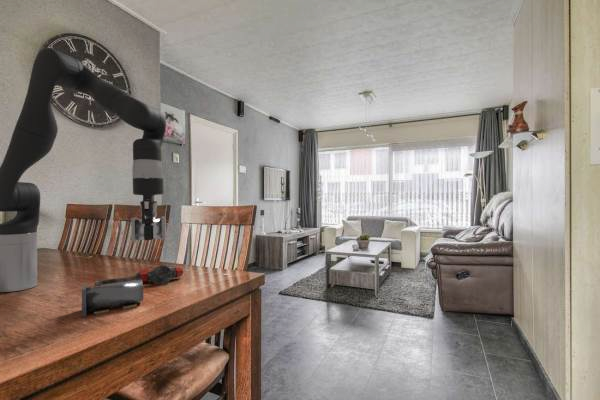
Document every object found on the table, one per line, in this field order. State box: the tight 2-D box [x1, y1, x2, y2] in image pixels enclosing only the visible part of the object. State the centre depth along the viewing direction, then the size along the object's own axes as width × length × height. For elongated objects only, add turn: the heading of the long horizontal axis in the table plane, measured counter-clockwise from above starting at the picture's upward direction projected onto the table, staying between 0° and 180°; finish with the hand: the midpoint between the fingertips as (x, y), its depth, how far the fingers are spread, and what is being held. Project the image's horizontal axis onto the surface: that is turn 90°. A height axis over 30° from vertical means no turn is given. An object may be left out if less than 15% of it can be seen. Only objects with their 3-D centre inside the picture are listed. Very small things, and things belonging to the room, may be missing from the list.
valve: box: [94, 264, 184, 286], centre depth 100 cm, size 6×26×15 cm
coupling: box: [130, 216, 167, 244], centre depth 81 cm, size 8×6×6 cm
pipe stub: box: [81, 280, 144, 318], centre depth 75 cm, size 13×6×6 cm, turn 125°
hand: (149, 238), depth 81 cm, fingers closed on coupling, 5 cm apart
